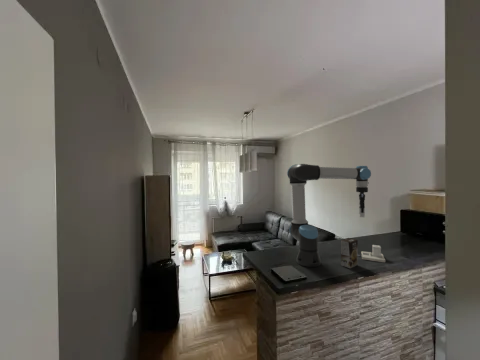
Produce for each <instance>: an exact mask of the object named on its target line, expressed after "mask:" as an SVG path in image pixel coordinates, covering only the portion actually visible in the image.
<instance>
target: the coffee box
mask: <svg viewBox="0 0 480 360" xmlns="http://www.w3.org/2000/svg"><path fill="white" fill-rule="evenodd" d="M358 241H359V240H358V239H356V238H349V237H348V238H344V239H342V240H341V241H340V266H342V267H345V268H348V269H353V268H355V267H356V266H358V261H359V259H358V258H359V257H358V254H359V253H358V249H359V248H358V246H359V245H358Z"/></svg>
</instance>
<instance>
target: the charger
mask: <svg viewBox="0 0 480 360" xmlns="http://www.w3.org/2000/svg"><path fill="white" fill-rule="evenodd" d="M371 246H372V250H371V251H372V252H371V253H372V256H373V257H380V258H381V254H382V251H381V250H382V247H381V245H376V244H372V245H371Z"/></svg>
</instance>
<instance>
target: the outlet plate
mask: <svg viewBox="0 0 480 360" xmlns="http://www.w3.org/2000/svg"><path fill="white" fill-rule="evenodd" d="M360 253H361V255H360V256H361V259H362V260H365V261H372V262H378V263H386V259H385V257H384V254H383V253H381V258H380V257H373V256H372V252H371V251H360Z"/></svg>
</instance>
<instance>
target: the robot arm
mask: <svg viewBox="0 0 480 360" xmlns="http://www.w3.org/2000/svg"><path fill="white" fill-rule="evenodd" d="M286 174H287V177H288V179H289V185H291V190H292V191H291V193H292V195H291V196H292V218H293V219H292V220H291V224H290V226H289V234H290V235H291V237H292V238H293V239H295V240H296V241H297V242H299V245H298V247H299V248H298V253H297V255H296V263H297V264H298V265H300V266H302V267H307V268H316V267H319V266H321V265H322V264H321V263H322V260H321V257H320V252H319V232H318V231H319V230H318V228H317V227H316V226H314V225H312V224H309V221H308V220H307V218H306V217H307V216H306V215H307V214H306V192H305V187H306V185H307V182H308V181H318V180H320V179H323V180H324V179H328V180H329V179H331V180H332V179H333V180H355V181H356V182H355V186H356V187H355V189H356V193H358V200H359V204H358V205H359V207H358V209H359V213H358V214H359V217H360V218H365V217H366V215H365V211H366V210H365V208H366V207H365V200H366V194H365V193H368V191H369V187H368V185H369V182H368V181H369V179H370V178H371V176H372V171H371V170H370V169H369V168H368V166H367V165H356V167H334V166H333V167H332V166H331V167H330V166H329V167H328V166H320V165H315V164H309V163H308V164H307V163H297V164H293V165H290V166H289V167H288V169H287V172H286Z"/></svg>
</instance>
